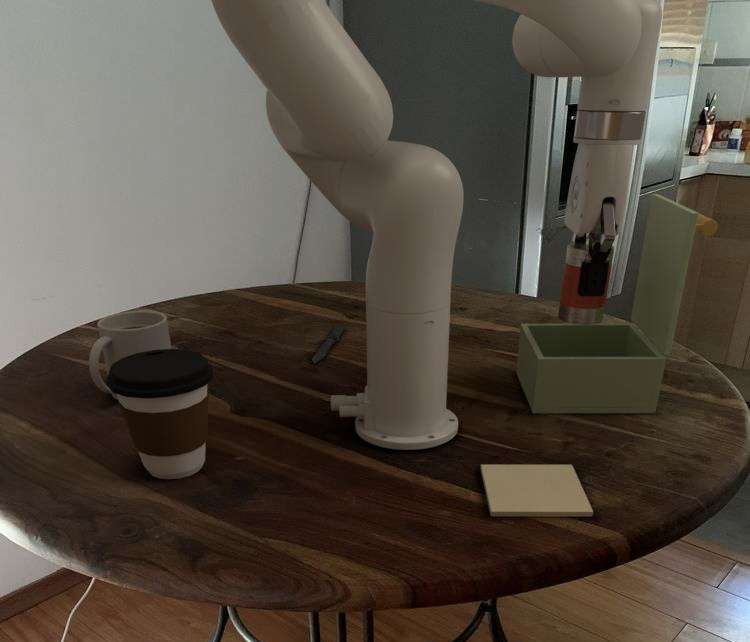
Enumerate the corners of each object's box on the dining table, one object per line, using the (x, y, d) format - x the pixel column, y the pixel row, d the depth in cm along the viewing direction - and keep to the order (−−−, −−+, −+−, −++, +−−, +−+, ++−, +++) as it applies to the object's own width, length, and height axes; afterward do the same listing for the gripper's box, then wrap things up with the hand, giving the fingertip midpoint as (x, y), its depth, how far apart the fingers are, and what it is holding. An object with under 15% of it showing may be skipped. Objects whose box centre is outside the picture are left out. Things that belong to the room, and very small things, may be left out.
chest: (532, 413, 94) (538, 358, 90) (516, 373, 107) (520, 323, 103) (655, 413, 94) (666, 358, 90) (624, 372, 106) (632, 323, 102)
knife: (332, 322, 126) (349, 321, 125) (332, 327, 126) (349, 326, 125) (305, 361, 111) (324, 360, 110) (306, 366, 111) (325, 365, 110)
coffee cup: (120, 454, 85) (100, 355, 79) (214, 438, 88) (202, 342, 82) (130, 498, 76) (108, 390, 70) (234, 478, 80) (222, 373, 74)
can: (562, 324, 92) (572, 250, 88) (553, 312, 97) (563, 241, 93) (607, 325, 92) (620, 251, 88) (596, 313, 97) (608, 242, 93)
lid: (691, 212, 81) (737, 212, 81) (651, 193, 94) (691, 193, 94) (663, 355, 90) (705, 355, 90) (630, 320, 102) (666, 320, 102)
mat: (490, 516, 72) (491, 511, 72) (480, 469, 81) (480, 464, 81) (592, 516, 72) (593, 511, 72) (571, 469, 81) (572, 464, 80)
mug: (173, 375, 107) (162, 307, 102) (182, 399, 99) (171, 326, 94) (95, 386, 104) (80, 316, 99) (98, 411, 96) (82, 336, 91)
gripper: (560, 125, 91) (542, 273, 100) (593, 133, 76) (568, 306, 85) (621, 125, 91) (597, 274, 100) (665, 134, 76) (633, 307, 85)
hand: (584, 287), depth 93 cm, fingers closed on can, 5 cm apart
